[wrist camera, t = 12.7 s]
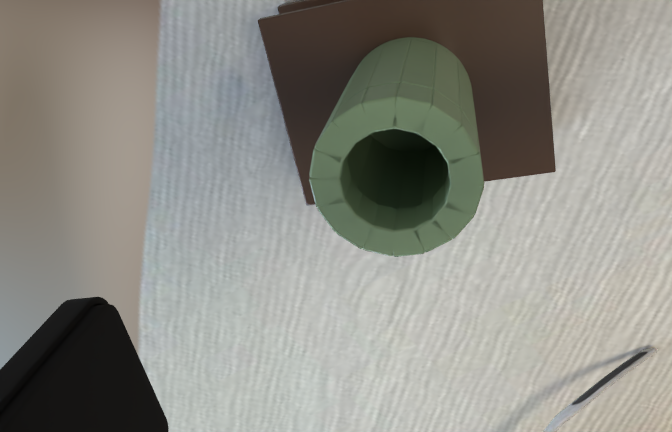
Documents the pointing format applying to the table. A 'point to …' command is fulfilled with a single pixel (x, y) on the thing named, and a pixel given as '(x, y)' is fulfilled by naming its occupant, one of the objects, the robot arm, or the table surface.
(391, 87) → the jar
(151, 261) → the table surface
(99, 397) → the robot arm
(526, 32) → the stand
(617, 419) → the table surface
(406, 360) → the table surface
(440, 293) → the table surface
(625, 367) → the sunglasses
